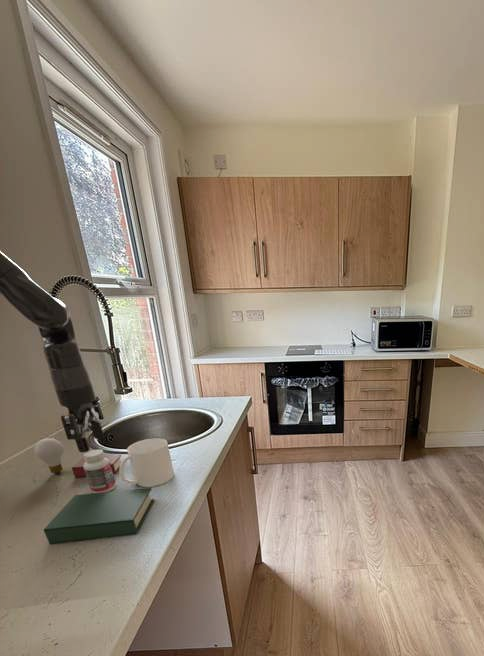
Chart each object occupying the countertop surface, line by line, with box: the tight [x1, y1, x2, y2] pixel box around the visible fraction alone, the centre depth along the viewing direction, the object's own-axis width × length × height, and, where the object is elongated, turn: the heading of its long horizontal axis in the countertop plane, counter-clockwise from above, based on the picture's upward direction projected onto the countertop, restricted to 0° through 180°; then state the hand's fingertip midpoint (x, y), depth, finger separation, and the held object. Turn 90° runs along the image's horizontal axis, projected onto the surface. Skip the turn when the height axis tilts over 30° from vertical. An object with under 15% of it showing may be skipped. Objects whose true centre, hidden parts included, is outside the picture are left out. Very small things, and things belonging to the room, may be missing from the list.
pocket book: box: [71, 454, 122, 479], centre depth 93 cm, size 10×6×3 cm, turn 99°
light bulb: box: [34, 437, 64, 475], centre depth 91 cm, size 6×6×10 cm
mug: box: [118, 437, 175, 488], centre depth 87 cm, size 12×9×9 cm
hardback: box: [43, 487, 155, 545], centre depth 73 cm, size 16×12×4 cm
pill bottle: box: [83, 449, 117, 494], centre depth 84 cm, size 5×5×10 cm
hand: (92, 444), depth 91 cm, fingers open, 8 cm apart
